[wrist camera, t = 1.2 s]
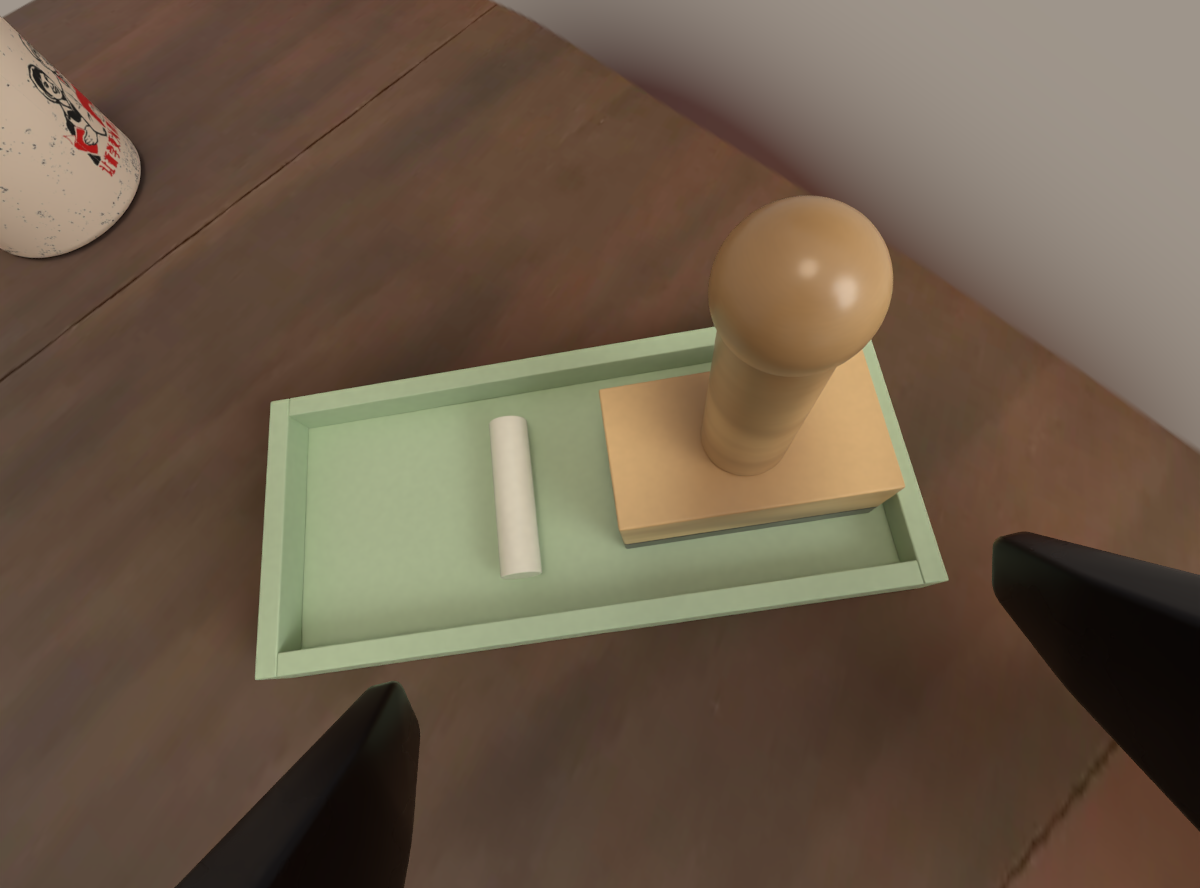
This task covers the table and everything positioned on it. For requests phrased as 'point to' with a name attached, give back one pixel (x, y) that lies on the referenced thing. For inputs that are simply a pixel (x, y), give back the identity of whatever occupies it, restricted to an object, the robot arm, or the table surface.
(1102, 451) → the table surface
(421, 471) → the tray
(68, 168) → the teacup with lid
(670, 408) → the wooden rubber stamp
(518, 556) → the chalk
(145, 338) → the table surface
